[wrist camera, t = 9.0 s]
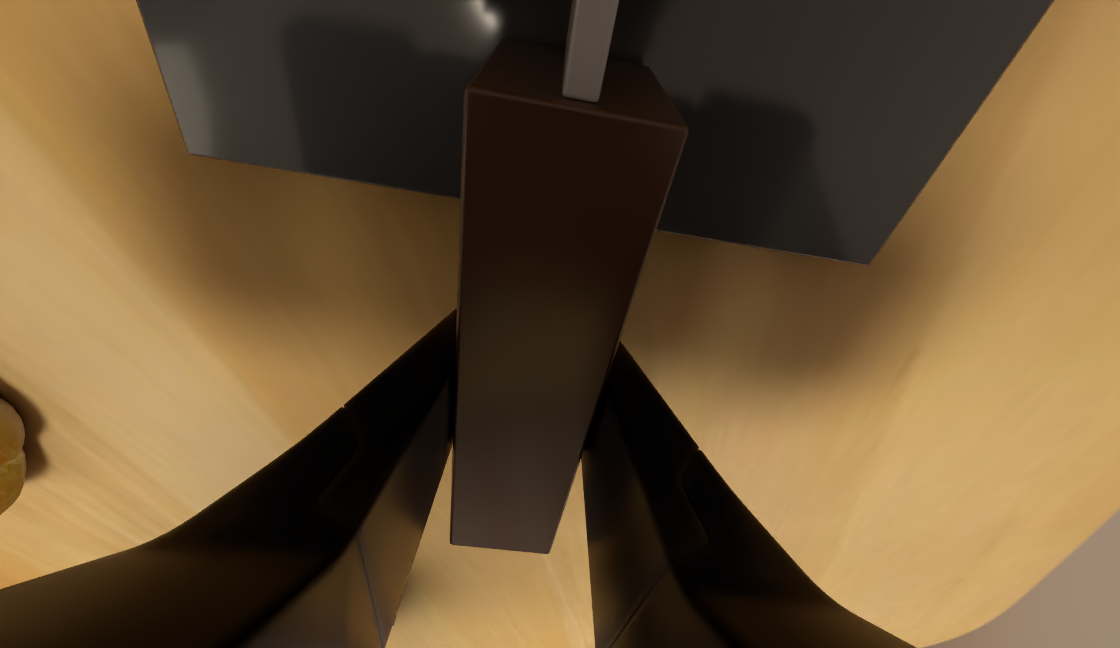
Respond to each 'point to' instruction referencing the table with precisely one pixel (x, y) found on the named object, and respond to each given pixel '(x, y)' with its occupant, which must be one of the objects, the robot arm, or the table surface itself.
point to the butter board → (638, 37)
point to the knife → (548, 265)
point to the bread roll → (11, 455)
